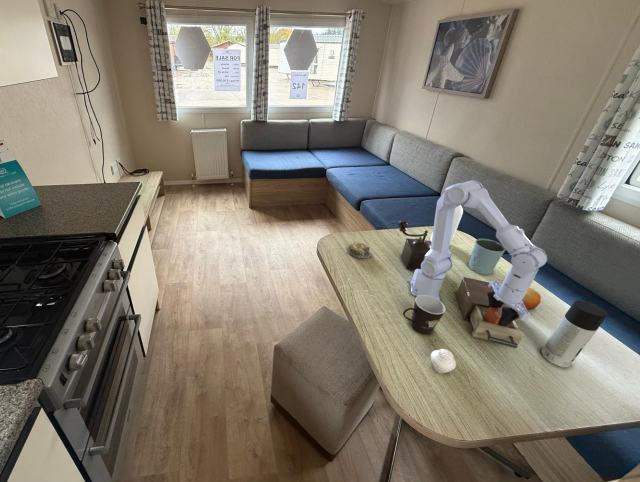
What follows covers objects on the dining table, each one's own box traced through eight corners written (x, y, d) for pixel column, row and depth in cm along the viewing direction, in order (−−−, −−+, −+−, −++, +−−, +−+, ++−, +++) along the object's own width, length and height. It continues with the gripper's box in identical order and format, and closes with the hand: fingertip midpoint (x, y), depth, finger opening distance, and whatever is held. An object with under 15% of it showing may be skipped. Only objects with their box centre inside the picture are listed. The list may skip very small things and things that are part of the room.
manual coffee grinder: (424, 257, 137) (436, 222, 129) (432, 272, 128) (446, 235, 119) (388, 253, 140) (397, 218, 131) (393, 267, 130) (404, 230, 122)
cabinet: (507, 330, 101) (517, 312, 97) (464, 319, 105) (472, 302, 101) (495, 301, 113) (503, 285, 109) (456, 292, 117) (463, 276, 113)
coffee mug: (433, 321, 103) (442, 298, 99) (437, 340, 96) (448, 317, 91) (396, 312, 107) (403, 290, 102) (398, 330, 99) (406, 307, 95)
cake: (344, 255, 138) (345, 244, 136) (352, 246, 146) (353, 235, 143) (366, 261, 133) (368, 250, 131) (373, 251, 140) (375, 241, 138)
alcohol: (449, 240, 151) (471, 183, 137) (451, 249, 144) (474, 189, 130) (429, 236, 154) (448, 180, 140) (430, 245, 147) (450, 186, 133)
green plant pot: (498, 270, 130) (509, 246, 124) (487, 279, 125) (499, 254, 119) (472, 259, 137) (482, 236, 132) (461, 266, 132) (471, 242, 126)
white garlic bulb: (455, 380, 84) (464, 363, 81) (431, 376, 85) (439, 359, 82) (446, 360, 90) (454, 344, 86) (424, 357, 91) (431, 340, 87)
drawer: (520, 358, 90) (529, 344, 87) (476, 346, 94) (483, 332, 91) (502, 317, 105) (509, 304, 102) (464, 308, 108) (470, 295, 105)
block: (492, 327, 95) (498, 317, 93) (483, 317, 99) (489, 307, 97) (507, 328, 95) (513, 317, 93) (497, 317, 99) (503, 307, 97)
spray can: (572, 372, 88) (612, 320, 78) (542, 361, 91) (577, 310, 81) (566, 355, 93) (604, 305, 83) (538, 345, 96) (571, 296, 86)
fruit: (548, 312, 107) (544, 295, 104) (521, 317, 110) (517, 301, 107) (535, 297, 114) (530, 280, 111) (510, 302, 117) (505, 286, 114)
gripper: (485, 269, 96) (470, 302, 103) (519, 302, 84) (499, 337, 90) (508, 270, 96) (491, 303, 103) (545, 303, 83) (523, 338, 90)
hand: (496, 319), depth 96 cm, fingers closed on block, 4 cm apart
